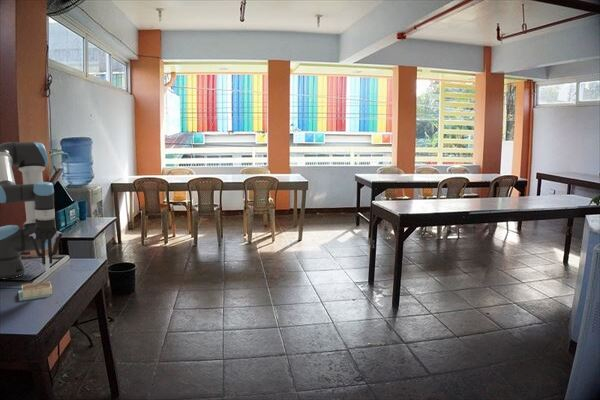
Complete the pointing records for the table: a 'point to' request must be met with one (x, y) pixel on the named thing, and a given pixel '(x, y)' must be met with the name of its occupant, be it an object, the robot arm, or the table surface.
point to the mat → (30, 297)
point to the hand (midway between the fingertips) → (47, 270)
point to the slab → (36, 289)
